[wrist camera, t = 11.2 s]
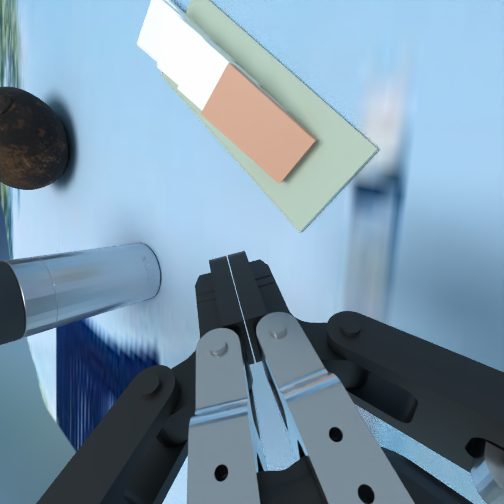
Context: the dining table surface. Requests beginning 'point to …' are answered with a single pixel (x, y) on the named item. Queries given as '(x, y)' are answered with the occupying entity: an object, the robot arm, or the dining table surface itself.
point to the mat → (300, 108)
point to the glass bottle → (30, 141)
